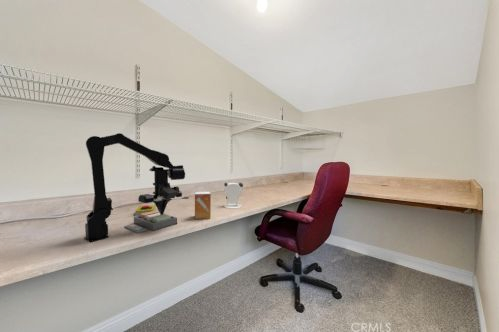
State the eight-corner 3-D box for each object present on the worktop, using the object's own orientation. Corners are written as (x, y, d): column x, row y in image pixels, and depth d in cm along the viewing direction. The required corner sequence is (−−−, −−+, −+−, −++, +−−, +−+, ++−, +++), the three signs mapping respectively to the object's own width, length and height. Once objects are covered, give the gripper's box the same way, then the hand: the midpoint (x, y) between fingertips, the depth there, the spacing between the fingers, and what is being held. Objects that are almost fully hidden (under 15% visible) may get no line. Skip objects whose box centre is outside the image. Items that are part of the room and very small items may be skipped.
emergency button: (134, 209, 116) (139, 203, 131) (134, 217, 117) (139, 210, 131) (153, 208, 119) (156, 202, 133) (153, 216, 119) (156, 209, 134)
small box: (194, 219, 113) (194, 194, 112) (195, 215, 119) (194, 191, 119) (210, 218, 115) (210, 193, 114) (210, 215, 121) (210, 191, 120)
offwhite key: (150, 221, 102) (150, 217, 102) (146, 220, 104) (146, 215, 104) (164, 218, 107) (164, 213, 107) (159, 216, 110) (159, 212, 110)
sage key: (157, 223, 99) (157, 219, 99) (152, 222, 101) (152, 217, 101) (171, 220, 104) (171, 215, 104) (166, 218, 107) (166, 214, 106)
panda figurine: (241, 204, 148) (241, 181, 147) (243, 208, 137) (244, 184, 136) (223, 204, 146) (223, 181, 145) (224, 208, 135) (224, 184, 134)
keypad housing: (153, 230, 96) (153, 224, 96) (133, 223, 106) (133, 217, 106) (177, 223, 106) (177, 217, 106) (157, 217, 116) (157, 211, 116)
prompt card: (137, 233, 93) (137, 231, 93) (124, 227, 100) (124, 225, 100) (147, 230, 96) (147, 228, 96) (133, 225, 103) (133, 223, 103)
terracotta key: (144, 219, 105) (144, 215, 105) (140, 217, 107) (140, 213, 107) (158, 216, 111) (158, 212, 111) (153, 214, 113) (153, 210, 113)
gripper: (151, 184, 89) (152, 222, 90) (189, 180, 104) (189, 213, 105) (137, 182, 96) (138, 217, 97) (174, 178, 111) (175, 209, 112)
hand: (161, 214), depth 102 cm, fingers closed
